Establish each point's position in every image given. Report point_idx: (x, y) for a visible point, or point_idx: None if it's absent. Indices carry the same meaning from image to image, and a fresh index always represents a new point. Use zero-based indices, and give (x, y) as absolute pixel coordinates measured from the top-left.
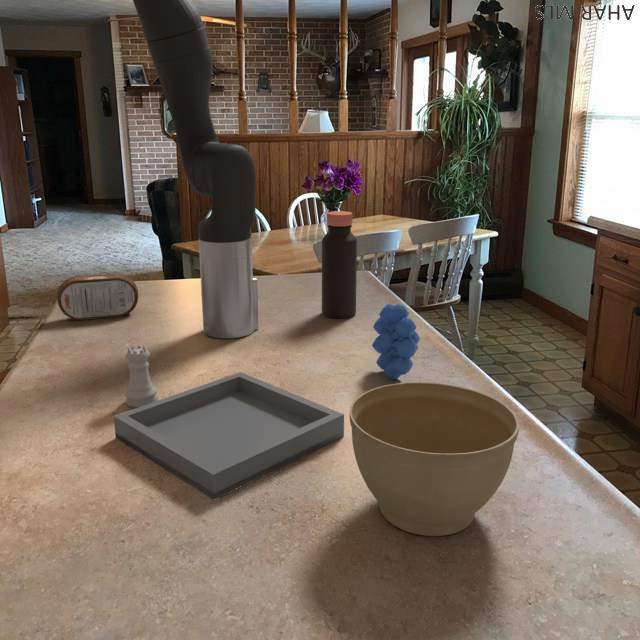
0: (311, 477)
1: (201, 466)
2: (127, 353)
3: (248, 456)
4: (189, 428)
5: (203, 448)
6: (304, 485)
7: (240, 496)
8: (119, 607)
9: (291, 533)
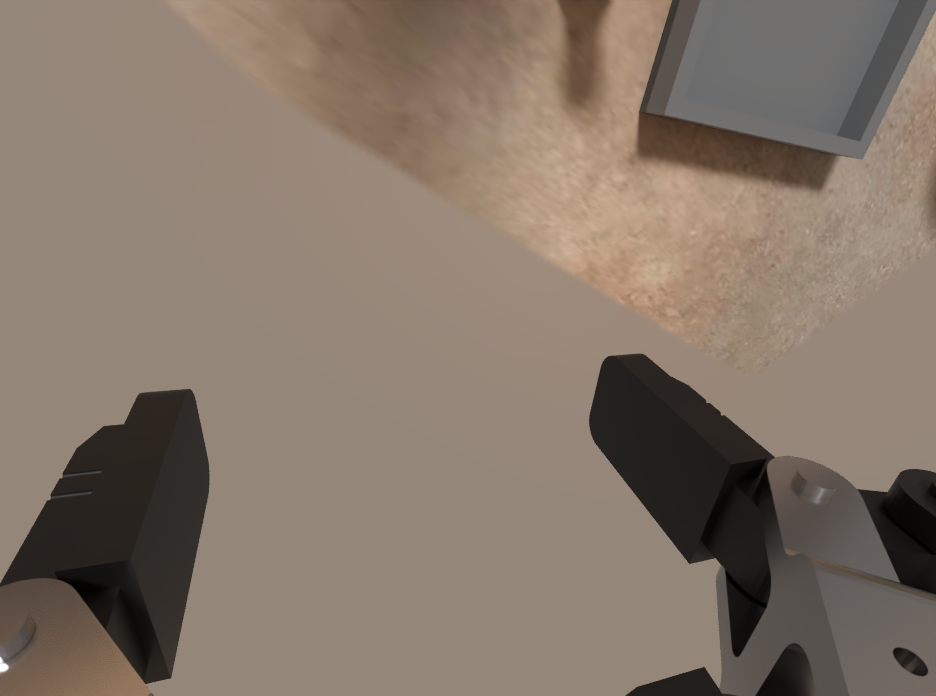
0: None
1: (844, 152)
2: None
3: (892, 91)
4: (746, 20)
5: (791, 67)
6: (919, 53)
7: None
8: (807, 316)
9: (914, 151)
